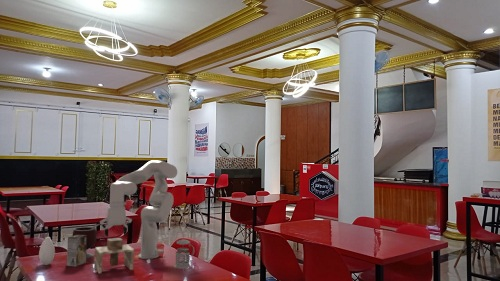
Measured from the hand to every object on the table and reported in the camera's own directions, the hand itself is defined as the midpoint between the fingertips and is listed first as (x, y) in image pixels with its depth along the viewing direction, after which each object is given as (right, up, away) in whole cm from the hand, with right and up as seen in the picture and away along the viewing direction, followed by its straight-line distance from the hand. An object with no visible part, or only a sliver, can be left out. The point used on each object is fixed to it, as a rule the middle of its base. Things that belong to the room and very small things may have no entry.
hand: (115, 235), depth 215 cm
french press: (+37, -20, +7) cm, 43 cm away
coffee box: (-25, -18, +5) cm, 31 cm away
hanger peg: (-1, -16, -2) cm, 16 cm away
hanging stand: (-1, -18, -2) cm, 18 cm away
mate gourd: (-28, -19, +24) cm, 42 cm away
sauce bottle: (-40, -18, +2) cm, 44 cm away
